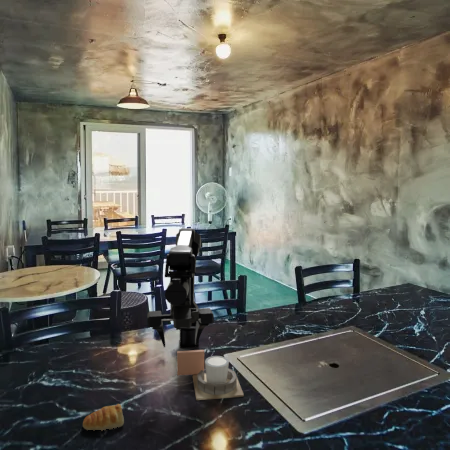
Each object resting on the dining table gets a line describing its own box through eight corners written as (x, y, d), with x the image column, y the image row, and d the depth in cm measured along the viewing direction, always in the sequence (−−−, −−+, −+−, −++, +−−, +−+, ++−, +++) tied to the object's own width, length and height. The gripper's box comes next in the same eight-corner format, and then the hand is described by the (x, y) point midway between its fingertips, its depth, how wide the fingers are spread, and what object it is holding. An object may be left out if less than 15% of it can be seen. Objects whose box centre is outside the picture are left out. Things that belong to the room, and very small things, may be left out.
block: (177, 375, 113) (177, 353, 112) (177, 373, 114) (177, 351, 114) (204, 373, 114) (204, 351, 114) (203, 371, 116) (203, 349, 115)
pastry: (84, 438, 87) (83, 422, 86) (81, 421, 93) (81, 406, 92) (125, 427, 91) (125, 412, 90) (120, 412, 97) (120, 397, 96)
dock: (196, 400, 102) (196, 389, 101) (192, 375, 115) (192, 366, 114) (243, 396, 104) (243, 386, 104) (234, 372, 117) (234, 363, 116)
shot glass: (232, 381, 111) (232, 358, 110) (222, 392, 105) (223, 368, 104) (211, 375, 114) (211, 353, 113) (200, 387, 107) (200, 363, 107)
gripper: (147, 304, 99) (147, 361, 101) (217, 300, 103) (216, 355, 105) (147, 291, 110) (147, 343, 112) (210, 289, 113) (210, 339, 115)
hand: (180, 345), depth 111 cm, fingers open, 9 cm apart
